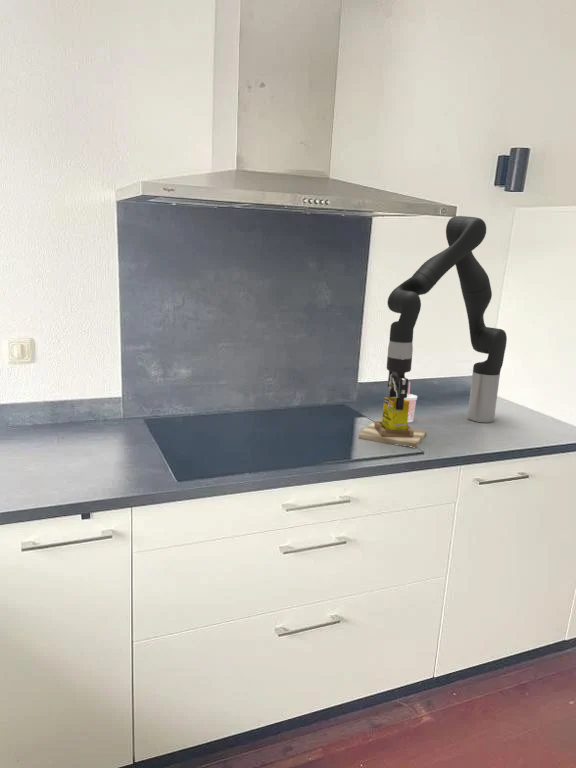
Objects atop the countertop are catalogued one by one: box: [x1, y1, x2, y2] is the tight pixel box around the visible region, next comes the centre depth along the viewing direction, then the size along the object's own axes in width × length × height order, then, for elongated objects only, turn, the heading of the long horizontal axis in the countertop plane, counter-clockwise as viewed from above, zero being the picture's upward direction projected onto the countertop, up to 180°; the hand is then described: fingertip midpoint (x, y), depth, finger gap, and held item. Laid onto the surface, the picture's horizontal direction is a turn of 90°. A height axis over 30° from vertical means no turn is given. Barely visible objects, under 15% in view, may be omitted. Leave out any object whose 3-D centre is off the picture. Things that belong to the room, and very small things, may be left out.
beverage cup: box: [404, 381, 418, 423], centre depth 206 cm, size 6×6×14 cm
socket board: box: [358, 421, 427, 448], centre depth 188 cm, size 15×18×4 cm
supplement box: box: [381, 396, 409, 430], centre depth 187 cm, size 6×6×11 cm
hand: (395, 405), depth 186 cm, fingers open, 8 cm apart
